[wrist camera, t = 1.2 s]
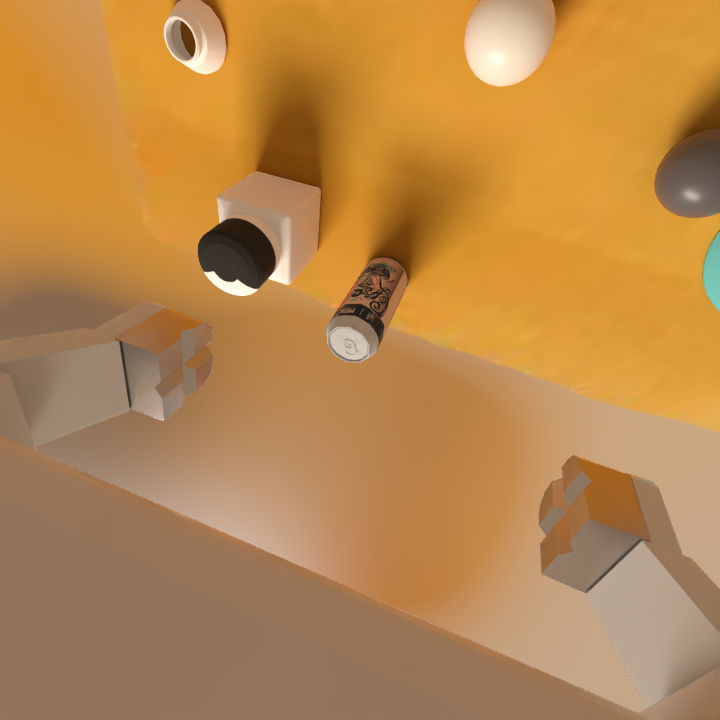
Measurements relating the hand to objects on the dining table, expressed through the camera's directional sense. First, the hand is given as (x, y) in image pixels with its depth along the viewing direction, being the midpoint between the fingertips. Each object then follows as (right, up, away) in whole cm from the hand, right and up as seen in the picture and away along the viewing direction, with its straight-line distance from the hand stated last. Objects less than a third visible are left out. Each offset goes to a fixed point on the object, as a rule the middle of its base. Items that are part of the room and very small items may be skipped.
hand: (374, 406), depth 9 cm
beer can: (+3, +10, +36) cm, 37 cm away
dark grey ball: (+23, +13, +19) cm, 33 cm away
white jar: (-14, +28, +27) cm, 41 cm away
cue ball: (+9, +22, +18) cm, 30 cm away
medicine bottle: (-8, +16, +35) cm, 39 cm away
